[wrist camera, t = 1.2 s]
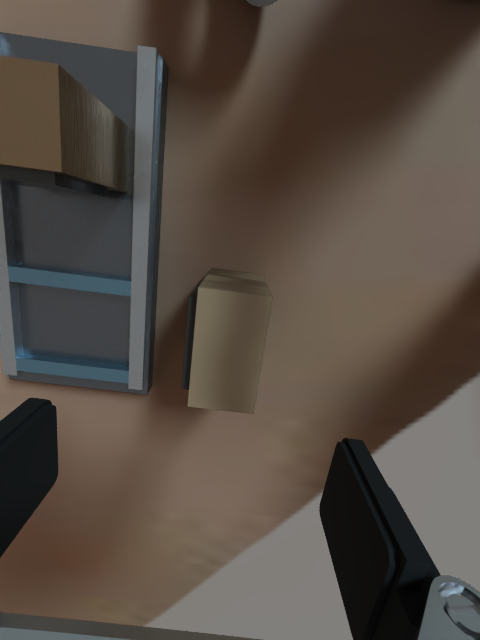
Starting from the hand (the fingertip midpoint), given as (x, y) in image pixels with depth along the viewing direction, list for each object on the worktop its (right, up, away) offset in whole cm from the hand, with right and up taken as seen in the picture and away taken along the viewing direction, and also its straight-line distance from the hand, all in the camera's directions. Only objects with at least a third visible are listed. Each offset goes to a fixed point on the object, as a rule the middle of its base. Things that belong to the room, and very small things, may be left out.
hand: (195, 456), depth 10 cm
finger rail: (-12, +11, +16) cm, 23 cm away
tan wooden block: (+1, +5, +18) cm, 18 cm away
